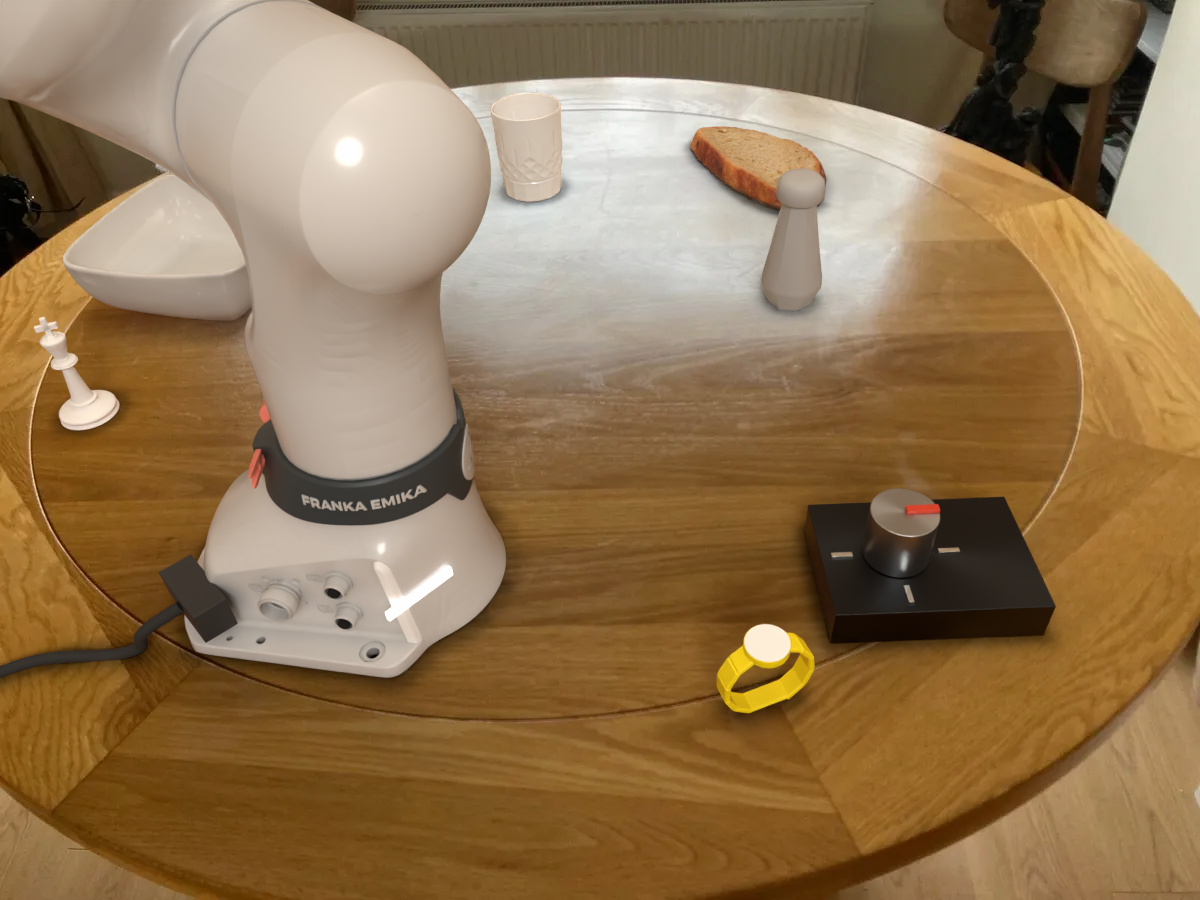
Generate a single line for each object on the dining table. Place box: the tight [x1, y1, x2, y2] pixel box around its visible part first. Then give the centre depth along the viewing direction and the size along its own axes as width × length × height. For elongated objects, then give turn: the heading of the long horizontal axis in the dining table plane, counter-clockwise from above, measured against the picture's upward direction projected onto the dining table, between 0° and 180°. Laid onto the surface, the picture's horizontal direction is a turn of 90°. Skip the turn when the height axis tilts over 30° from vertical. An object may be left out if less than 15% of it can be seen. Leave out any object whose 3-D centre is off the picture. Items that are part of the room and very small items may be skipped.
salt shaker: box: [760, 168, 826, 312], centre depth 89 cm, size 6×6×13 cm
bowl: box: [61, 173, 252, 322], centre depth 98 cm, size 20×20×8 cm
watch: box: [715, 623, 816, 714], centre depth 58 cm, size 6×3×6 cm, turn 109°
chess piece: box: [33, 316, 120, 431], centre depth 82 cm, size 5×5×10 cm
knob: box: [862, 487, 940, 578], centre depth 63 cm, size 4×4×4 cm
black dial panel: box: [803, 496, 1057, 645], centre depth 66 cm, size 14×10×3 cm
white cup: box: [489, 92, 563, 203], centre depth 110 cm, size 8×8×10 cm
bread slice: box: [689, 126, 827, 211], centre depth 113 cm, size 18×18×4 cm
